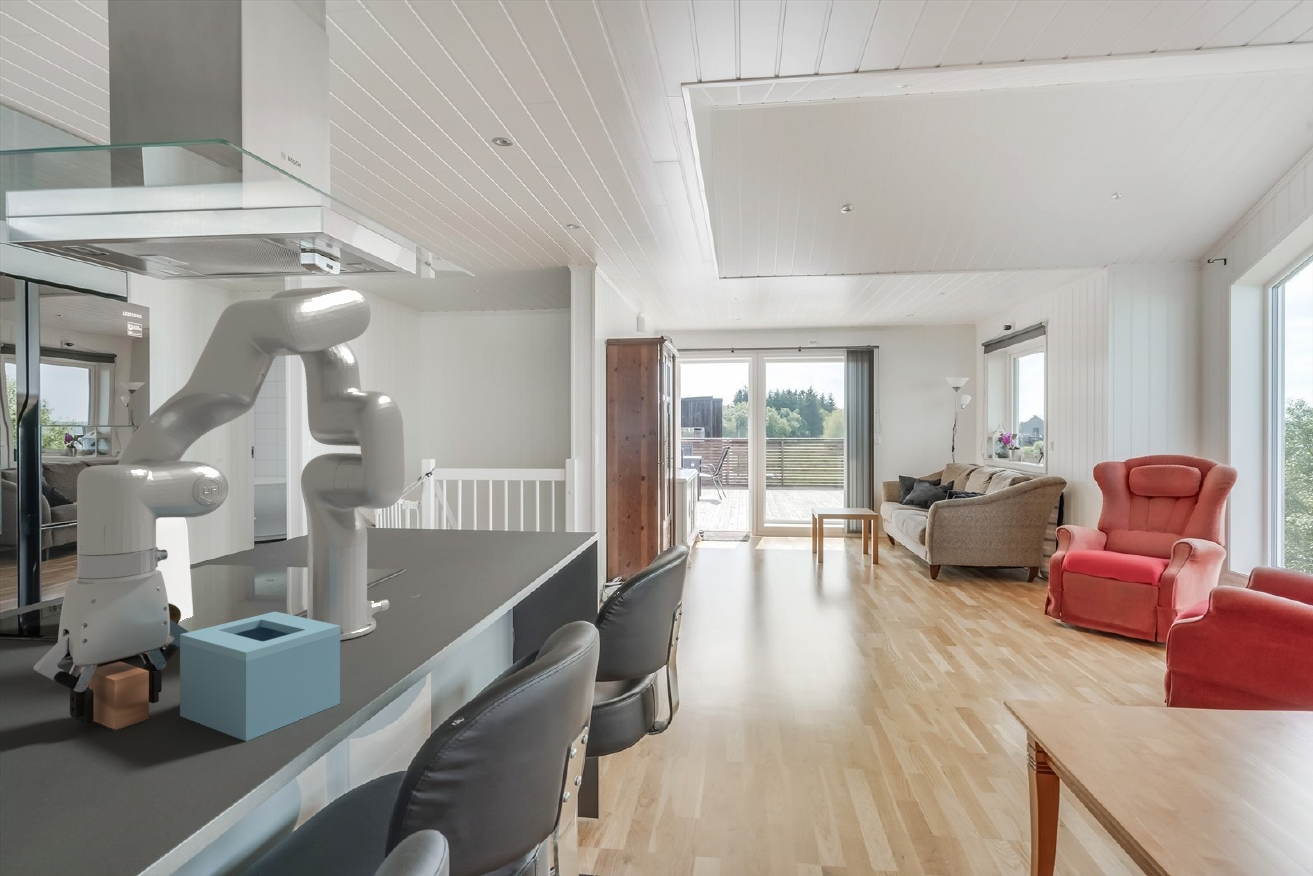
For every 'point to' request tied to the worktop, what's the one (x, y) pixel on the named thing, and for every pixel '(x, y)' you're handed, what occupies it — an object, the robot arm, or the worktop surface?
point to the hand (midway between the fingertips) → (117, 709)
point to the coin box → (259, 673)
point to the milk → (175, 562)
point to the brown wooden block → (120, 694)
